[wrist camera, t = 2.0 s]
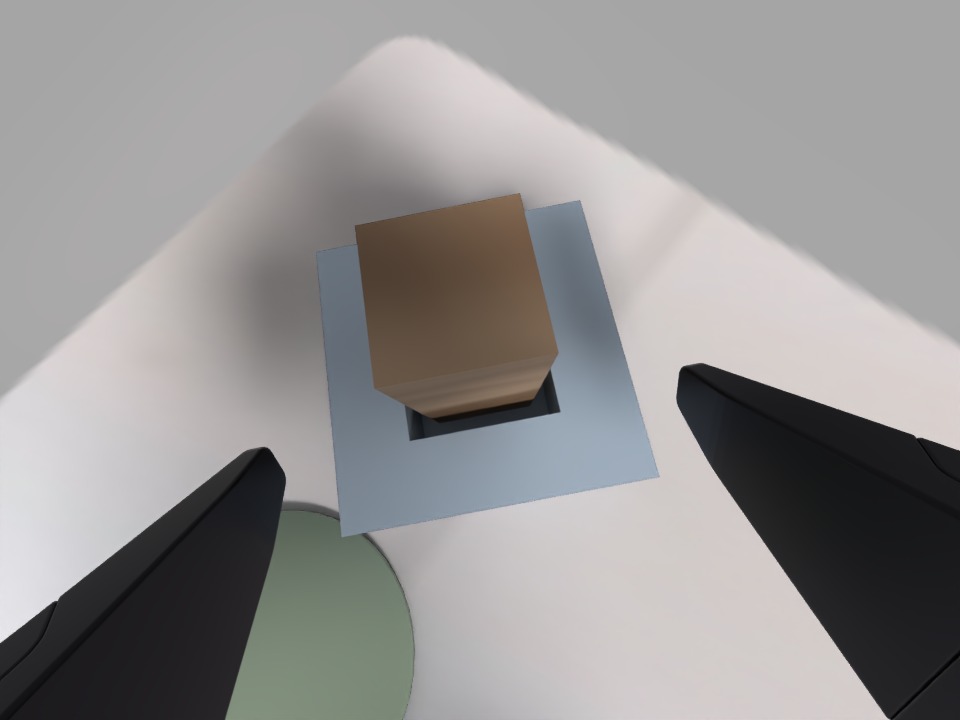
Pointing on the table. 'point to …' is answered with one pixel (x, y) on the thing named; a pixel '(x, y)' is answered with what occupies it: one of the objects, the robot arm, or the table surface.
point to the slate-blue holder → (492, 437)
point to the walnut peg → (456, 309)
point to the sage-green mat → (326, 631)
